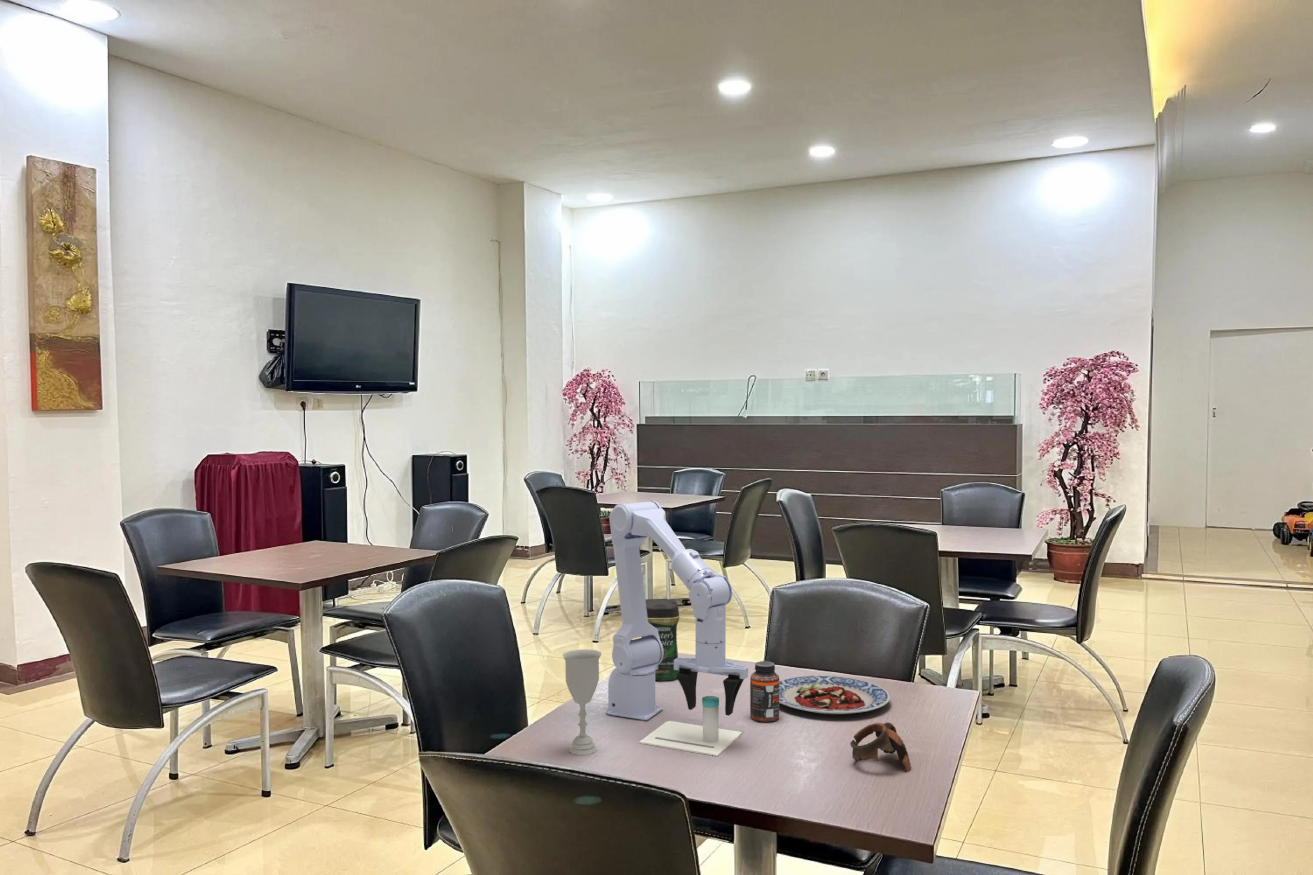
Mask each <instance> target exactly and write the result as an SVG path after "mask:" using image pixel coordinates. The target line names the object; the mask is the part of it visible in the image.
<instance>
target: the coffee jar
mask: <svg viewBox="0 0 1313 875" xmlns="http://www.w3.org/2000/svg"><path fill="white" fill-rule="evenodd" d="M645 601H646V609H647V617H648V622H649V623H650V624H651V625H652V626H654V627H655V628H656V629H657V630H658V634H659V639H660V641H661V643H662V646H663V650H664V655H663V659H662V661H661V663H660V664H658V669H657V670H655V680H660V681H673V680H675V679H677V674H678V673H679V670H674V660H675V659H676V658H679V652H678V639H677V638H678V636H677V635H678V634H677V628H678V623H679V621H680V611H679V610H680V609H679V605H678V601H677V599H674V598H649V599H647V598H645ZM641 638H643V637H641Z"/></svg>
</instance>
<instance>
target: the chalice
mask: <svg viewBox="0 0 1313 875" xmlns="http://www.w3.org/2000/svg"><path fill="white" fill-rule="evenodd" d="M562 656H563V659H564V661H565V682H566V686H567V689H568V691H569V693H570V695H571V697H572V700H573V701H574V703H576V704H578V705H579V712H578V714H577V715H578V716H579V722H578V724H577V726H578V727H579V734H578V735H577V736H576V737H574V738H573V739H572V743H571V745H570V748H569V753H571V754H573V755H577V756H586V755H587V756H588V755H591V754H594V753H595V752H597V748H596V746H595V743H594V739H593V738H592V737H591V736H589V735H588V733H586V728H587V725H588V722H587V721H586V717H587V715H588V713H587V711H586V704H589V703H590V702H591V700H592V698H593V697H594V694H595V692H596V690H597V686H598V684H599V681H600V658H601V656H602V651H599V650H597V649H596V650H594V649H586V648H585V649H574V650H569V651H565V652H564V653H562Z"/></svg>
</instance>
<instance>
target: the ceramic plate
mask: <svg viewBox="0 0 1313 875" xmlns="http://www.w3.org/2000/svg"><path fill="white" fill-rule="evenodd" d="M890 699H891V695H890V693H889V692H888V690H886V689H885V688H884V687H882V686H880V685H878V684H875V683H872V682H870V681H865V680H863V679H857V678H852V677H845V676H835V675H804V676H796V677H790V678H789V677H788V678H786V679H782V680H779V704H781V705H784V706H786V707H789V708H793V709H796V710H801V711H805V712H808V713H813V714H819V715H820V714H821V715H848V714H849V715H851V714H856V713H864V712H865V713H866V712H871V711H873V710H876V709H880V708H882V707H884V706H885V705H887V704H888V703H889V701H890Z"/></svg>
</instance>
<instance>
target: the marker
mask: <svg viewBox="0 0 1313 875" xmlns="http://www.w3.org/2000/svg"><path fill="white" fill-rule="evenodd" d="M701 700H702V701H701V703H702V704H701V705H702V726H703V741H704V742H707V743H715V742H718V741H719V729H720V728H719V725H720V724H719V714H720V712H719V710H720V708H719V706H720V697H718V696H715V695H705V696H703V697H702V699H701Z"/></svg>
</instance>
